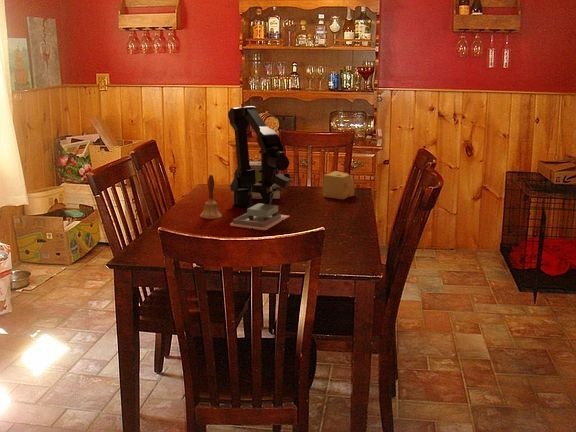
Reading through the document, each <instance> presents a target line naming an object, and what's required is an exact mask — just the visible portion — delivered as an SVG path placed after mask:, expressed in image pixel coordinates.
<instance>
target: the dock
mask: <svg viewBox="0 0 576 432" xmlns="http://www.w3.org/2000/svg"><path fill="white" fill-rule="evenodd" d="M248 217H249V215H247V212H245V213H243V214H241V215H240V216H237V217H236V218H233V219H232V222H230V223H229V224H230V226H231V227H237V228H246V229H252V228H253V230H262V231H266V230H267V231H268V230H269V229H270V228H272V227H274V226H275V225H278V224H279V223H281V222H283V221H285V220H286V219H287V218H289V217H290V215H285V214H282V213H279V212H277V214H276V215H275V216H273V217H272V215H271V216H269V217H268V218H269V219H267V220H265V221H264V220H263V218H264V217H258V216H254V219H253V220H249V218H248ZM282 220H283V221H282Z"/></svg>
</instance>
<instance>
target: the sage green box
mask: <svg viewBox="0 0 576 432" xmlns="http://www.w3.org/2000/svg"><path fill="white" fill-rule="evenodd" d="M246 211H247V212H246V213H247V215H249V217H248V218H249V220H253V219H254V216H258V217H264V218H263V220H264V221H265V220H267V219H269V218H268V217H269V216H271V215H272V217H273V216H275V215H276V214H278V213H279V205H276V204H271V205H269V204H265V203H260V202H259V203H256V204H253V205H251V206H249V207H247V210H246Z"/></svg>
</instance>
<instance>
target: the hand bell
mask: <svg viewBox="0 0 576 432" xmlns="http://www.w3.org/2000/svg"><path fill="white" fill-rule="evenodd" d="M207 189H208V200H207V201H206V202H205V203H204V207H203V211H202V212H201V214H200V215H199V218H202V219H206V220H215V219H216V220H217V219H221V218H222V216H223V215H222V213H220V211H219V208H218V203H217V201H215V200H214V190H215V178H214V175H213V174H210V175H209V176H208V179H207Z"/></svg>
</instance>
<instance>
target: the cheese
mask: <svg viewBox="0 0 576 432" xmlns="http://www.w3.org/2000/svg"><path fill="white" fill-rule="evenodd" d="M322 180H323V181H322V195H323V196H322V197H324V198H329V199H330V198H331V199H336V200H337V199H338V200H345V199H347V198H350V197H353V196H354V195H355V188H354V184H355V180H354V177H353V178H352V175H351V174H349V173H347V172H343V171H342V172H341V171H338V170H337V171H336V170H334V171H332V172H329V173H326V174H324V175H323V179H322Z"/></svg>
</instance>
